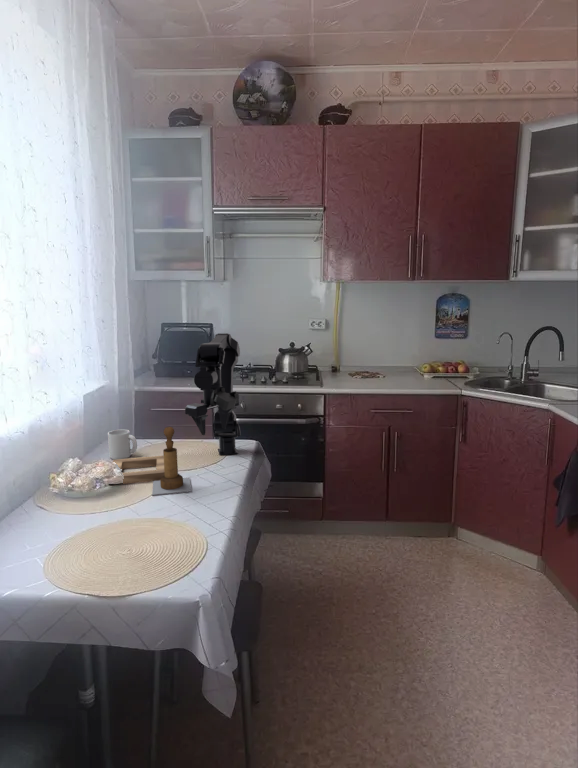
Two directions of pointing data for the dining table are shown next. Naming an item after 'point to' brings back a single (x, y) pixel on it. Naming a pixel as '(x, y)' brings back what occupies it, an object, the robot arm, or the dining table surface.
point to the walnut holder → (138, 463)
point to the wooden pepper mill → (170, 464)
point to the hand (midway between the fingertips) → (213, 431)
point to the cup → (121, 444)
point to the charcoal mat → (160, 491)
